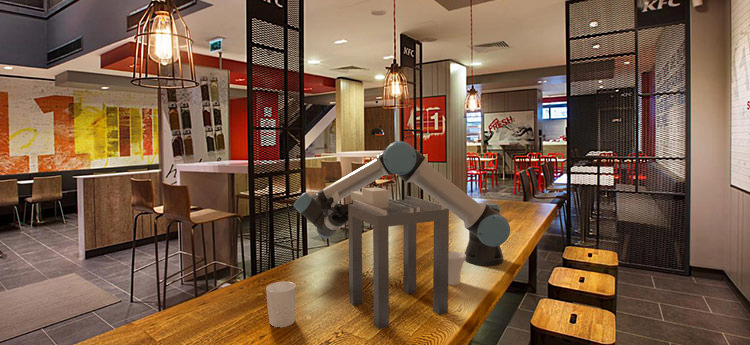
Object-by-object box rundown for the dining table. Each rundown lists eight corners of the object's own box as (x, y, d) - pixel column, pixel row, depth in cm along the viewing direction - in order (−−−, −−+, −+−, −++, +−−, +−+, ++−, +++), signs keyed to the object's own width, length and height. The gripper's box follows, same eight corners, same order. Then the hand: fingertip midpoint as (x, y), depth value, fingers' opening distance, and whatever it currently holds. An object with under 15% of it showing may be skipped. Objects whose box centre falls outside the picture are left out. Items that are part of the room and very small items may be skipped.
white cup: (289, 330, 106) (288, 293, 105) (261, 327, 107) (260, 291, 106) (301, 317, 113) (300, 282, 112) (275, 314, 115) (274, 280, 114)
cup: (451, 289, 133) (451, 259, 132) (434, 280, 141) (434, 252, 141) (472, 284, 137) (472, 255, 136) (454, 276, 146) (455, 248, 145)
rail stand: (349, 301, 124) (348, 200, 121) (411, 289, 133) (411, 195, 130) (378, 329, 106) (378, 211, 103) (447, 313, 115) (448, 204, 112)
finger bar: (347, 199, 130) (347, 184, 130) (361, 198, 133) (361, 183, 132) (372, 208, 113) (372, 191, 113) (388, 207, 116) (388, 190, 115)
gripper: (370, 223, 150) (394, 202, 133) (305, 230, 139) (322, 208, 122) (366, 204, 153) (389, 181, 136) (302, 210, 142) (318, 185, 125)
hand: (357, 193), depth 129 cm, fingers open, 13 cm apart
